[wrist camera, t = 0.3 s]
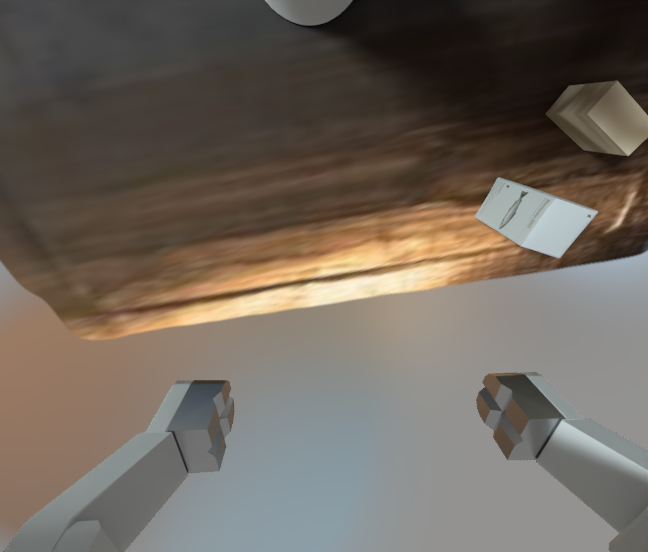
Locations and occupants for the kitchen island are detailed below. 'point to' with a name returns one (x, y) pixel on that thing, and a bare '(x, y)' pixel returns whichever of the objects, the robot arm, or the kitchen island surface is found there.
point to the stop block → (601, 118)
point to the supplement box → (534, 217)
